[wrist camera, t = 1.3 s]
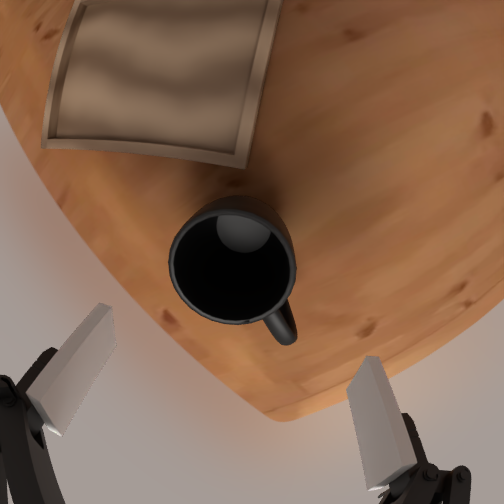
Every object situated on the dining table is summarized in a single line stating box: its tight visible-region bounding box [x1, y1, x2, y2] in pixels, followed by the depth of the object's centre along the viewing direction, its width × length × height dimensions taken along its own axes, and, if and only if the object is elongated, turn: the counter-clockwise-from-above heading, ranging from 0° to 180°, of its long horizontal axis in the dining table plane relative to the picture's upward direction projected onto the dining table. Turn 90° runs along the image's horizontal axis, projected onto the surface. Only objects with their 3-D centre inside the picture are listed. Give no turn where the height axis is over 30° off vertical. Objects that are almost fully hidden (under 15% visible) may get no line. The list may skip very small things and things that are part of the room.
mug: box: [168, 196, 297, 345], centre depth 22 cm, size 8×12×10 cm
